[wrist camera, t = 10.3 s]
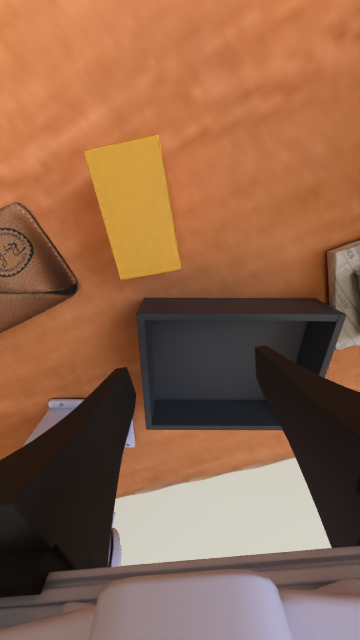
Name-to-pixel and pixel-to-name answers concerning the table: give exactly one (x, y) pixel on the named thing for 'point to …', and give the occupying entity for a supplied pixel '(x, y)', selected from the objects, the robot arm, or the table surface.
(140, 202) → the block
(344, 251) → the packaged product
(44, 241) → the sunglasses case
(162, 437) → the table surface
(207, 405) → the tub
